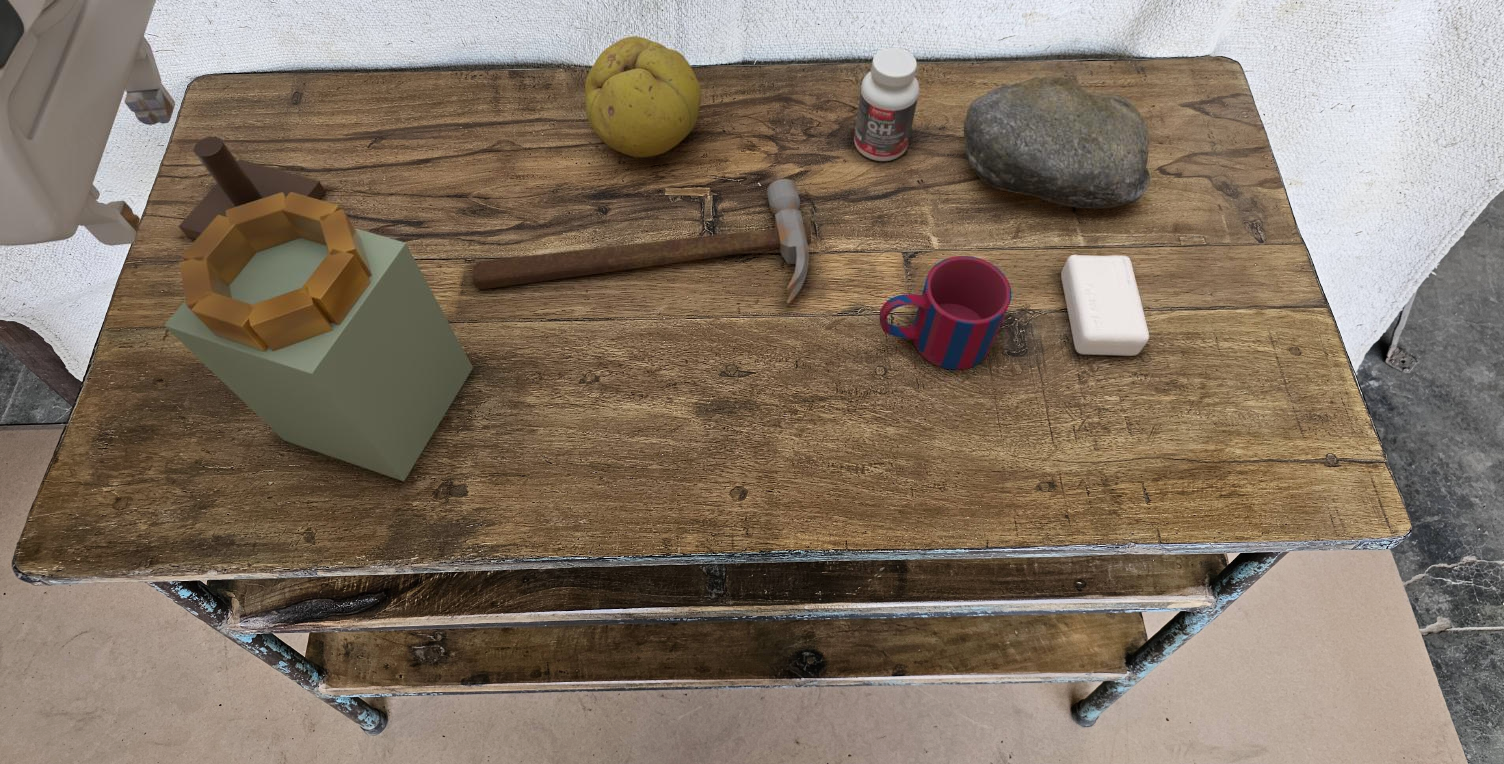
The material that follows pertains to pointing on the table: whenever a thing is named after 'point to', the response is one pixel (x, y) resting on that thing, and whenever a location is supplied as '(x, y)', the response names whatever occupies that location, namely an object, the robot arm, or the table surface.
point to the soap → (1104, 305)
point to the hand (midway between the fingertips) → (143, 172)
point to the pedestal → (344, 359)
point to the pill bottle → (887, 105)
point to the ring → (290, 313)
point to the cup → (954, 312)
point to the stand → (239, 185)
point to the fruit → (642, 97)
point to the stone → (1058, 143)
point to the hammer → (666, 250)
